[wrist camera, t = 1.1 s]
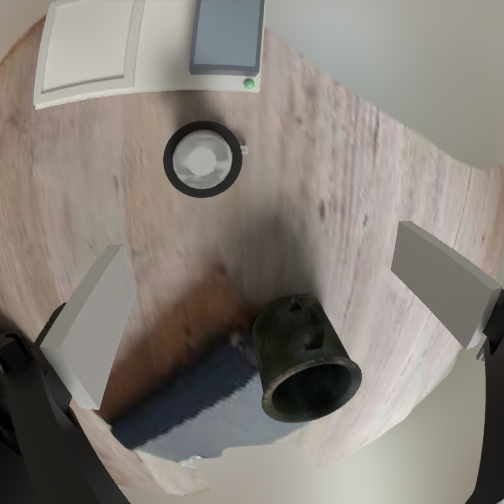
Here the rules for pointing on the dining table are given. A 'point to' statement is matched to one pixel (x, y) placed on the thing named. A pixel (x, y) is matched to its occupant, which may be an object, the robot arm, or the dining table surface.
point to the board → (122, 51)
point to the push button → (203, 159)
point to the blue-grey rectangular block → (227, 37)
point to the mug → (301, 361)
